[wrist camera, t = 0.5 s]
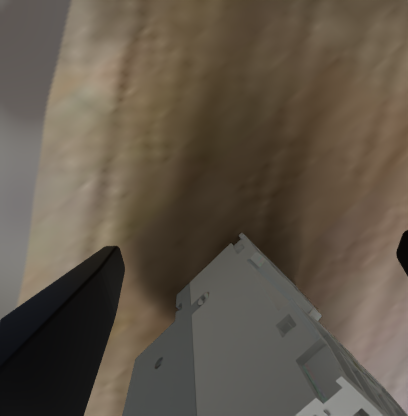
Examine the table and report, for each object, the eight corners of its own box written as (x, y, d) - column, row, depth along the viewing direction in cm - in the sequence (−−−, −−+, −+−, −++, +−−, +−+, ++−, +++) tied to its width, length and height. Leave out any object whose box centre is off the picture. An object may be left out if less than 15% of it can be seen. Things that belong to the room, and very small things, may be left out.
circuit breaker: (130, 339, 24) (48, 627, 9) (241, 232, 23) (347, 370, 8) (188, 384, 26) (195, 694, 11) (296, 286, 24) (468, 484, 10)
